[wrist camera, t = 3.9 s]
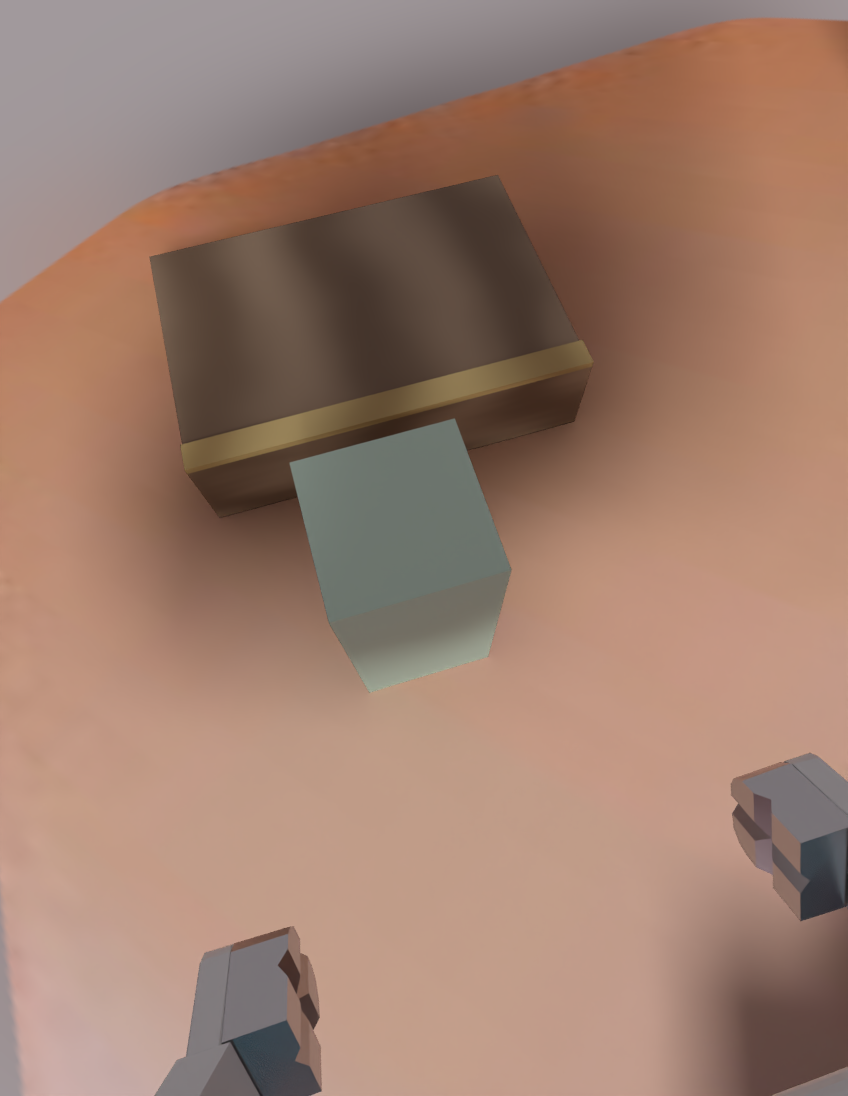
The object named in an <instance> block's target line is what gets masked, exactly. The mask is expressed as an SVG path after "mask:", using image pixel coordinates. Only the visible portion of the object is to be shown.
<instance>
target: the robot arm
mask: <svg viewBox="0 0 848 1096" xmlns="http://www.w3.org/2000/svg"><path fill="white" fill-rule="evenodd" d="M731 796H732V797H733V798H734V799H735V800H736V801H737V802H738V805H737V806H736V808H735V810H734V811H733V813H732V817H733V827H734V830H735V833H736V835H737V838H738V841H739V843H740V845H741V847H742V848H743V850H744V852H745V853H746V855H747V856H748V857H749V859H750V860H751V861H752V862H753V864H754V865H755V866H756V867H757V868H759V869H761V870H764V871H766V872H768V873H770V874H772V875H773V888H774V890H775V891H776V892H777V893H778V895H779V896H780V897H781V898H782V899H783V901H784V902H785V903H786V904H787V905H788V907H789V908H790V909H791V910H792V912H793V913H794V914H795V915H796V916H797V918H798V919H799V920H800V921H803V920H806V919H809V918H812V917H815V916H818V915H822V914H825V913H828V912H831V911H834V910H837V909H840V908H843V907H847V906H848V782H847V781H846V780H845V779H844V778H843V777H841V776H840V775H839V774H838V773H837V772H836V771H834V770H833V769H832V768H831V767H830V766H829V765H827V764H826V763H825V762H824V761H823V760H822V759H820V758H819V757H818V756H817V755H814V754H812V753H808V754H805V755H802V756H799V757H796V758H793V759H790V760H787V761H784V762H780V763H777V764H774V765H771V766H768V767H765V768H762V769H760V770H757V771H754V772H751V773H748V774H745V775H742V776H739V777H737V778H734V779H733V781H732V783H731ZM319 1018H320V1014H319V997H318V991H317V984H316V979H315V975H314V972H313V968H312V965H311V963H310V960H309V958H308V956H306V955H304V954H301V953H300V938H299V936H298V934H297V932H296V930H295V928H294V926H291V927H287V928H284V929H280V930H277V931H274V932H270V933H267V934H264V935H260V936H257V937H254V938H251V939H247V940H244V941H241V942H237V943H234V944H232V945H228V946H225V947H222V948H219V949H216V950H212V951H209V952H206V953H204V956H203V958H202V960H201V962H200V966H199V973H198V979H197V986H196V993H195V1000H194V1006H193V1013H192V1020H191V1027H190V1033H189V1040H188V1047H187V1054H186V1057H184V1058H181V1059H178V1060H177V1061H176V1062H175V1064H174V1066H173V1067H172V1069H171V1070H170V1072H169V1073H168V1075H167V1077H166V1078H165V1080H164V1081H163V1083H162V1084H161V1086H160V1088H159V1089H158V1091H157V1092H156V1094H155V1096H311V1095H313V1094H316V1093H318V1092H321V1091H322V1078H321V1046H320V1044H319V1042H318V1039H317V1037H316V1035H315V1033H314V1031H313V1030H314V1028H315V1026H316V1024H317V1022H318V1020H319ZM771 1096H848V1067H845V1068H843V1069H840V1070H837V1071H835V1072H832V1073H829V1074H827V1075H824V1076H821V1077H819V1078H816V1079H814V1080H811V1081H808V1082H806V1083H803V1084H800V1085H798V1086H795V1087H792V1088H790V1089H787V1090H784V1091H782V1092H779V1093H776V1094H774V1095H771Z"/></svg>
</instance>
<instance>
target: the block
mask: <svg viewBox="0 0 848 1096" xmlns="http://www.w3.org/2000/svg"><path fill="white" fill-rule="evenodd" d="M290 467H291V471H292V476H293V480H294V484H295V488H296V492H297V496H298V500H299V504H300V508H301V512H302V516H303V520H304V524H305V528H306V532H307V536H308V540H309V544H310V548H311V552H312V556H313V561H314V565H315V569H316V573H317V577H318V581H319V585H320V589H321V593H322V597H323V601H324V605H325V609H326V613H327V617H328V621H329V624H330V626H331V627H332V629H333V631H334V633H335V634H336V636H337V638H338V639H339V641H340V643H341V645H342V646H343V648H344V650H345V651H346V653H347V655H348V657H349V658H350V660H351V662H352V663H353V665H354V667H355V669H356V670H357V672H358V674H359V675H360V677H361V679H362V681H363V682H364V684H365V686H366V687H367V689H368V691H369V693H370V692H373V691H376V690H380V689H383V688H386V687H390V686H393V685H396V684H400V683H403V682H406V681H410V680H413V679H416V678H419V677H423V676H426V675H429V674H433V673H436V672H439V671H443V670H446V669H449V668H453V667H456V666H459V665H463V664H466V663H469V662H473V661H476V660H479V659H483V658H486V657H488V655H489V651H490V647H491V644H492V640H493V636H494V633H495V629H496V625H497V621H498V618H499V614H500V610H501V607H502V603H503V599H504V596H505V592H506V588H507V585H508V581H509V577H510V574H511V567H510V565H509V562H508V559H507V557H506V554H505V551H504V549H503V546H502V543H501V541H500V538H499V535H498V533H497V530H496V527H495V525H494V522H493V519H492V517H491V514H490V511H489V509H488V506H487V503H486V500H485V498H484V495H483V492H482V490H481V487H480V484H479V482H478V479H477V476H476V474H475V471H474V468H473V466H472V463H471V460H470V458H469V455H468V452H467V450H466V447H465V444H464V442H463V439H462V436H461V434H460V431H459V428H458V426H457V423H456V420H455V418H454V419H451V420H447V421H443V422H439V423H436V424H432V425H428V426H424V427H421V428H417V429H413V430H409V431H406V432H402V433H398V434H394V435H391V436H387V437H383V438H380V439H376V440H372V441H368V442H365V443H361V444H357V445H353V446H350V447H346V448H342V449H338V450H335V451H331V452H327V453H323V454H320V455H316V456H312V457H308V458H305V459H301V460H297V461H294V462H290Z"/></svg>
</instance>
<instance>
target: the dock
mask: <svg viewBox="0 0 848 1096" xmlns="http://www.w3.org/2000/svg"><path fill="white" fill-rule="evenodd" d="M150 262H151V268H152V274H153V280H154V285H155V291H156V297H157V303H158V308H159V314H160V320H161V326H162V331H163V337H164V343H165V349H166V354H167V360H168V366H169V372H170V377H171V383H172V389H173V395H174V400H175V406H176V412H177V418H178V423H179V429H180V435H181V440H182V445H180V447H181V453H182V458H183V464H184V470H185V472H186V473H187V474H188V476H189V477H190V478H191V480H192V481H193V482H194V484H195V485H196V486H197V488H198V489H199V490H200V492H201V493H202V495H203V496H204V497H205V499H206V500H207V501H208V503H209V504H210V505H211V507H212V508H213V509H214V511H215V512H216V513H217V515H218V516H219V517H224V516H228V515H231V514H235V513H239V512H242V511H246V510H250V509H253V508H257V507H261V506H264V505H268V504H272V503H276V502H279V501H283V500H287V499H290V498H294V497H298V496H297V492H296V488H295V484H294V480H293V476H292V471H291V467H290V462H294V461H297V460H301V459H305V458H308V457H312V456H316V455H320V454H323V453H327V452H331V451H335V450H338V449H342V448H346V447H350V446H353V445H357V444H361V443H365V442H368V441H372V440H376V439H380V438H383V437H387V436H391V435H394V434H398V433H402V432H406V431H409V430H413V429H417V428H421V427H424V426H428V425H432V424H436V423H439V422H443V421H447V420H451V419H454V418H455V420H456V423H457V426H458V428H459V431H460V434H461V436H462V439H463V442H464V444H465V447H466V450H470V449H474V448H478V447H481V446H485V445H489V444H492V443H496V442H500V441H503V440H507V439H511V438H514V437H518V436H522V435H525V434H529V433H533V432H536V431H540V430H544V429H547V428H551V427H555V426H558V425H562V424H566V423H570V422H573V421H575V418H576V414H577V411H578V408H579V405H580V402H581V399H582V396H583V393H584V390H585V387H586V384H587V381H588V378H589V375H590V372H591V369H592V366H593V360H592V358H591V356H590V354H589V352H588V350H587V348H586V345H585V343H584V341H583V340H580V341H579V339H578V337H577V335H576V333H575V331H574V329H573V327H572V325H571V323H570V321H569V319H568V317H567V315H566V313H565V311H564V308H563V306H562V304H561V302H560V300H559V298H558V296H557V294H556V292H555V290H554V288H553V286H552V284H551V282H550V280H549V278H548V276H547V274H546V272H545V270H544V268H543V266H542V264H541V262H540V260H539V258H538V256H537V254H536V252H535V250H534V247H533V245H532V243H531V241H530V239H529V237H528V235H527V233H526V231H525V229H524V227H523V225H522V223H521V221H520V219H519V217H518V215H517V213H516V211H515V209H514V207H513V205H512V203H511V201H510V199H509V197H508V195H507V193H506V191H505V189H504V187H503V184H502V182H501V180H500V178H499V176H498V175H495V176H491V177H487V178H483V179H478V180H474V181H470V182H466V183H461V184H457V185H453V186H449V187H444V188H440V189H436V190H432V191H427V192H423V193H419V194H415V195H410V196H406V197H402V198H398V199H393V200H389V201H385V202H381V203H376V204H372V205H368V206H364V207H359V208H355V209H351V210H347V211H342V212H338V213H334V214H330V215H325V216H321V217H317V218H313V219H308V220H304V221H300V222H296V223H291V224H287V225H283V226H279V227H274V228H270V229H266V230H262V231H257V232H253V233H249V234H245V235H240V236H236V237H232V238H228V239H223V240H219V241H215V242H211V243H206V244H202V245H198V246H194V247H189V248H185V249H181V250H177V251H172V252H168V253H164V254H160V255H155V256H151V257H150Z"/></svg>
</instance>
